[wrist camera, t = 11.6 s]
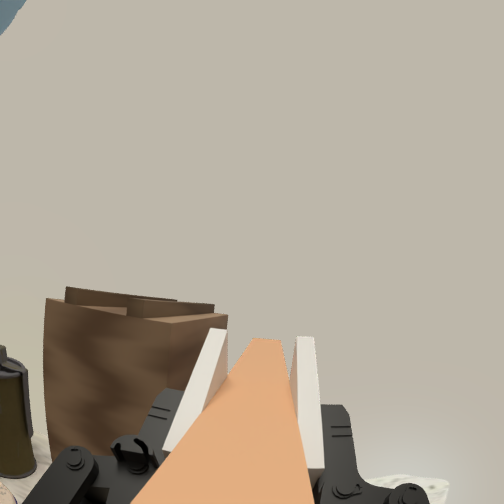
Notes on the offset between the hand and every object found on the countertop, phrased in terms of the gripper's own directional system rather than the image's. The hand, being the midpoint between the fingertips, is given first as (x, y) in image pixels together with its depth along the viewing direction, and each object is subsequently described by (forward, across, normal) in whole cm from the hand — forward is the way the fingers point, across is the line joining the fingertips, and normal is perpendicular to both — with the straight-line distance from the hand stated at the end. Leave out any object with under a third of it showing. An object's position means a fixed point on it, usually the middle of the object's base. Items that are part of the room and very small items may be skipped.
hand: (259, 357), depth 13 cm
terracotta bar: (+2, 0, -6) cm, 7 cm away
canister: (-2, -37, -32) cm, 49 cm away
